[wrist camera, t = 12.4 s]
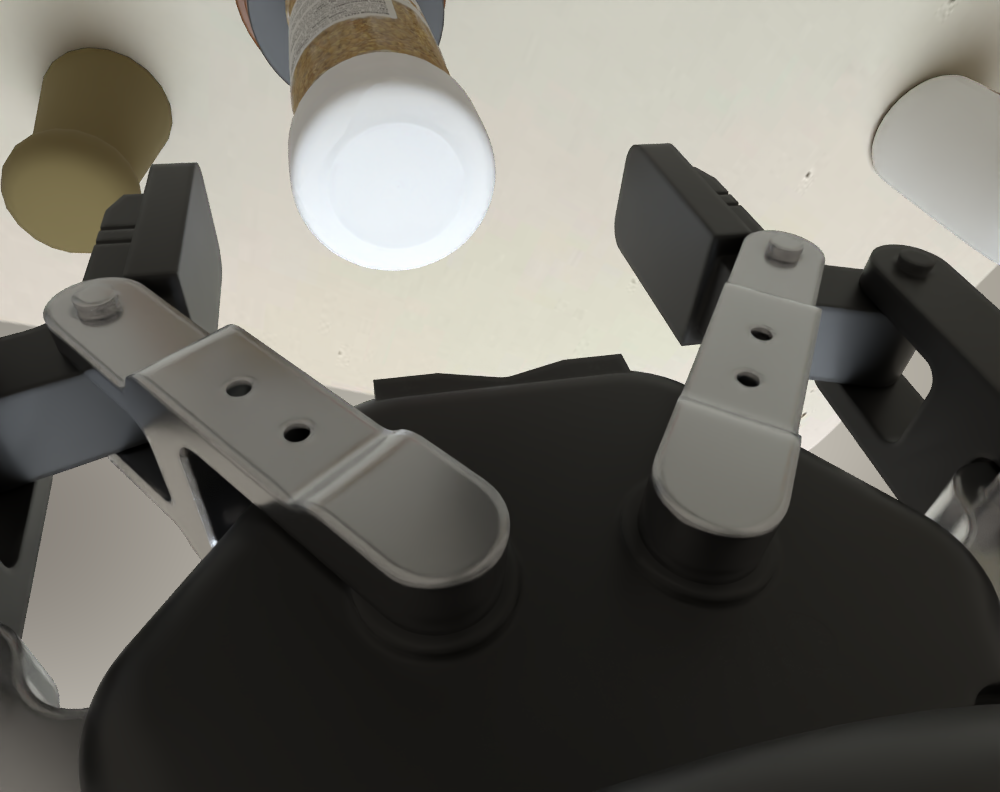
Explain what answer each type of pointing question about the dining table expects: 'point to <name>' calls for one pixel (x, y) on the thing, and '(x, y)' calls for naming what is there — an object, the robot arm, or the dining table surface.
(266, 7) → the amber bottle
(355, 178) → the spice jar
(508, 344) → the dining table surface
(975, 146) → the milk bottle
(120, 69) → the cork
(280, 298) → the dining table surface
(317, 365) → the dining table surface
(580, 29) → the dining table surface
